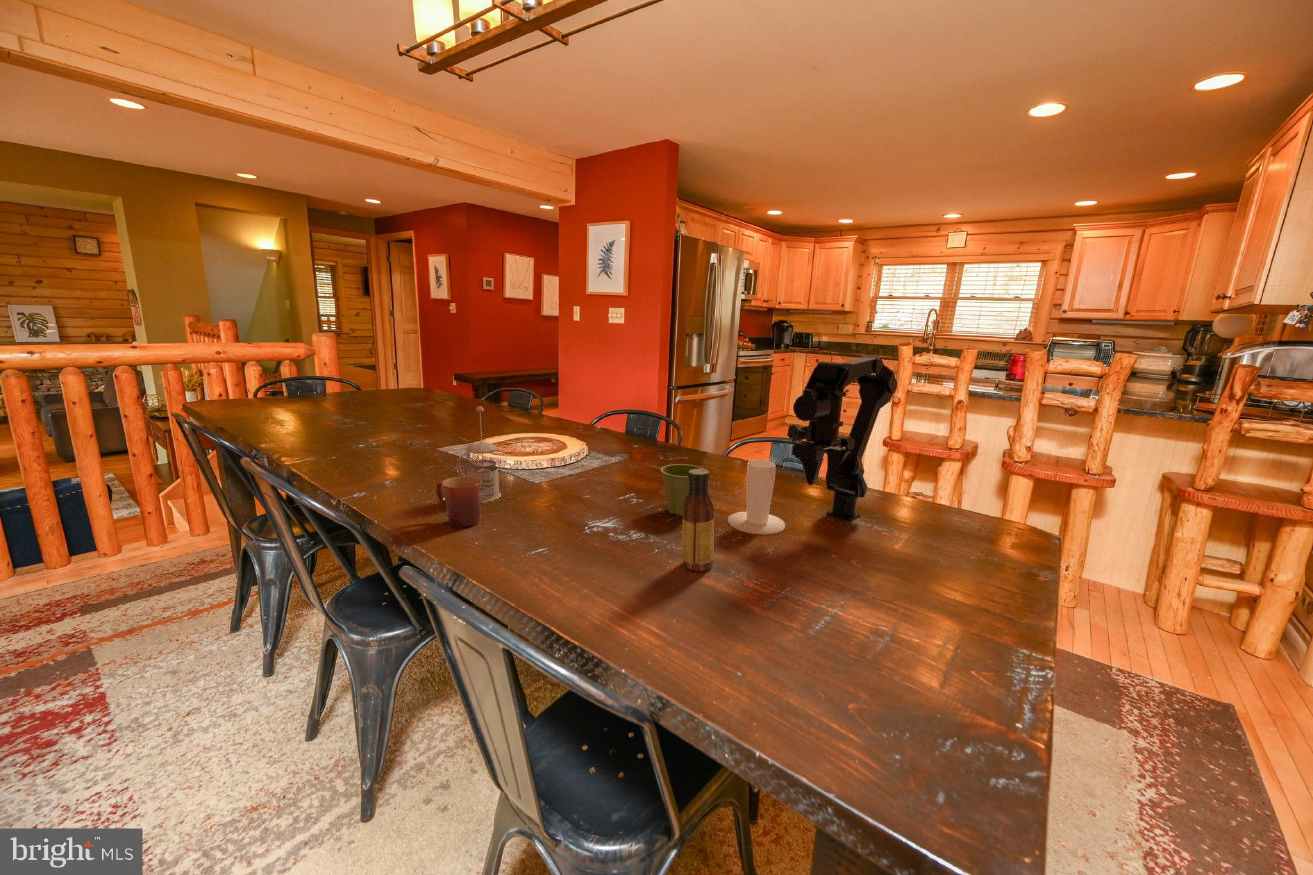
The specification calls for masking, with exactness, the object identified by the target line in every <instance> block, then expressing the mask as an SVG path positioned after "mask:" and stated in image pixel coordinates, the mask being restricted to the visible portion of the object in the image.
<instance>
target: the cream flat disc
mask: <svg viewBox="0 0 1313 875" xmlns="http://www.w3.org/2000/svg"><path fill="white" fill-rule="evenodd" d="M746 514H747V510H746V511H739V512H734V513H732V514H730V515H729V516H728V517H727V523H728V525H729V526H730V527H732V528H733V529H736V530H737V531H740V532H743V533H747V534H752V535H761V536H765V535H773V534H774V535H775V534H778V533H781V532H783V531H784V530H785V529H786V522H784V520H783V519H781V518H780V517H779V516H775V515H773V514H770V513H769V517H768V522H767V523H766V524H764V525H754V524H751V523H749V522H748V521H747V520H746Z"/></svg>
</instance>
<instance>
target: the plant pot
mask: <svg viewBox="0 0 1313 875" xmlns="http://www.w3.org/2000/svg"><path fill="white" fill-rule="evenodd" d="M692 469H704V470H706V469H705V468H704V467H702V466H697V465H693V464H685V463H684V464H683V463H676V464H675V463H674V464H668V465H664V466H661V468H660V472H661V473H662V478H663V481H664V487H665V488H664V489H665V496H666V497H665V498H666V506H667V511H668V513H669V514H671V515H673V514H675V515H677V516H679V517H683V502H684V500H685V498H686V497H687V495H688V494H689V478H688V472H689V470H692Z"/></svg>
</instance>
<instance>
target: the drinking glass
mask: <svg viewBox="0 0 1313 875" xmlns="http://www.w3.org/2000/svg"><path fill="white" fill-rule="evenodd" d="M745 477H746V483H745V486H746V488H745V491H746V511H747V514H746V520H747V521H748V522H749V523H751V524H754V525H764V524H766V523H767V522H768V517H769V514H770V508H771V501H772V496H773V492H774V485H775V480H776V463H774V462H772V461H771V460H770V461H768V460H763V459H754V460H752V459H751V460H749V461H748V462H747V467H746V476H745Z"/></svg>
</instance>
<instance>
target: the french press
mask: <svg viewBox="0 0 1313 875" xmlns="http://www.w3.org/2000/svg"><path fill="white" fill-rule="evenodd" d="M475 411H476V412H479V423H480V424H479V427H480V428H479V429H482V415H481V414H482V413H481V412H484V407H483V406H477V407H476V409H475ZM482 432H483V431H482V430H480V442H475V443H473V444H471V445H468V446H467V447H466V448H465V451H466V452H465V453H463V454H462V455H460V456H459V457H458V459H457V461H456V463H455V464H456V471H457V474H458V475H459V477H461V476H466V475H465V474H464V473H463V471H462V469H461V460H462V458H463V457H464V456H466V459H467V460H468V459H470V454H478V455H479V454H480V455H481V459H476V460H473V461H469V462H468V466H469V468H468V469H467V476H473V477H478V478H480V479H482V484H481V487H480V493H479V497H480V502H487V501H493V500H495V499H498V498H499V497H501V494H502V493H501V491H500V487H499V486H500V485H499V484H500V483H499V468H498V466H497V461H495V460H493V459H484V454H491V453H495V452H497V450H498V449H499V448H498V446H497V445H495V444H493V443H490V442H484V441H483V434H482ZM458 467H459V468H458ZM482 469H485V470H482ZM489 470H490V471H489ZM459 471H460V472H459ZM478 471H479V472H478ZM460 473H461V474H462V475H461V474H460Z"/></svg>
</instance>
